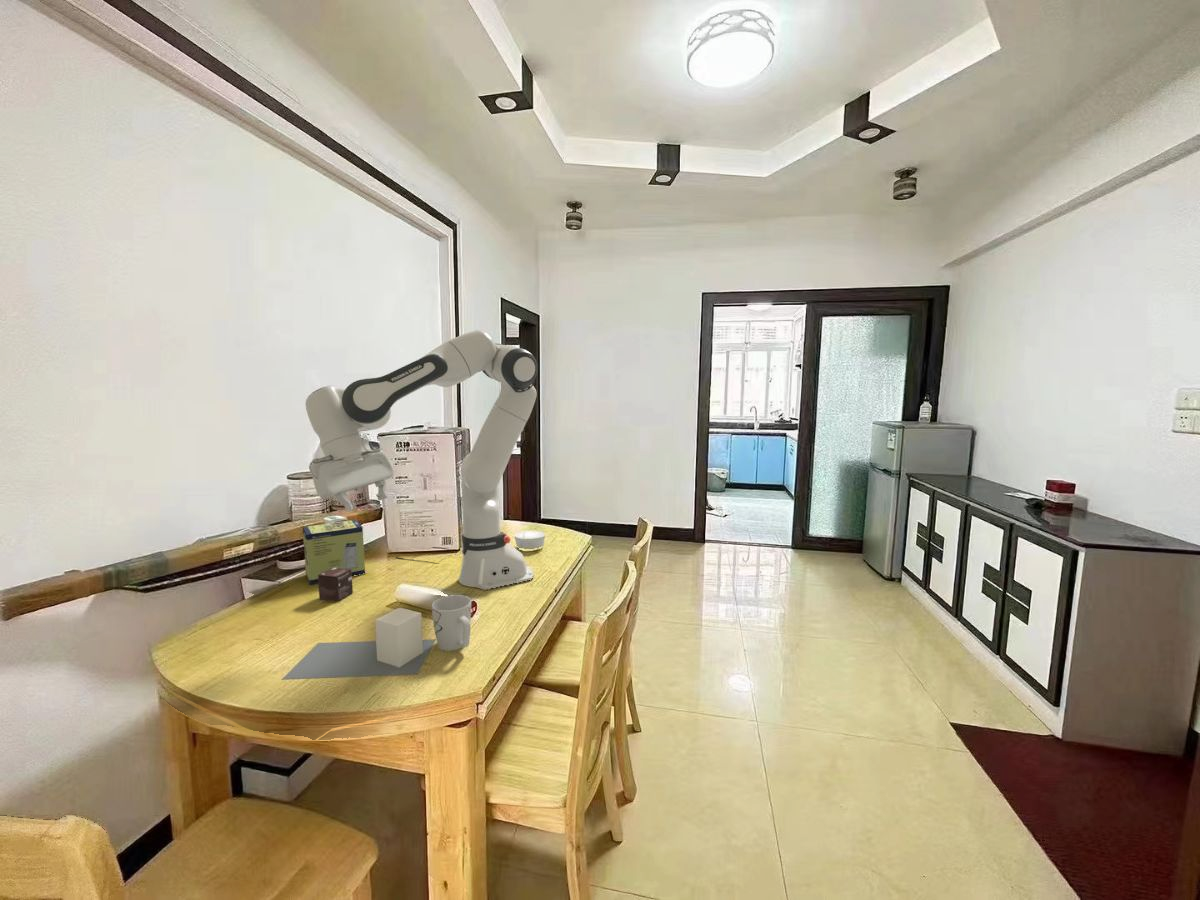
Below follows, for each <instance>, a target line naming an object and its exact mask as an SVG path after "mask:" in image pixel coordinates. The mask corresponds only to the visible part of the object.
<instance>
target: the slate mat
mask: <svg viewBox="0 0 1200 900" xmlns="http://www.w3.org/2000/svg"><path fill="white" fill-rule="evenodd" d="M436 641H437V639H436V638H435V639H434V638H431V639H428V638H427V639H422V643H423V653H421V654H420V655H418V656H417V657H415V658H414V659H412V660H410V661H409V662H407V663H406V664H404V665H403V666H401V667H396V666H393V665H390V664H387V663H384V662H381V661H378V660H377V647H376V640H374V641H373V640H371V641H368V640H367V641H365V640H364V641H340V642H339V641H337V642H333V641H332V642H317V643H316V644H315V646H313V647H312V648H311V649H310V650H309V652H307V653H306V654H305V655H304V656H303V657H302V658H301V660H299V661H298V662H297V664H295V665H294V666H293V668H291V669H290V670H289V671H288V672H287V674H285V675H284V676H283V677H282V679H281V680H283V681H284V680H304V679H305V680H306V679H333V678H334V679H335V678H337V679H338V678H357V677H358V678H359V677H362V678H363V677H383V676H384V677H386V676H387V677H388V676H389V677H390V676H411V675H412V676H414V675H419V673H420V671H421V668H422V667H423V665H424V663H425V662H426V659H427V657H428V656H429V654H430V652H431V650H432V647H433V646H434V644H435V643H436Z"/></svg>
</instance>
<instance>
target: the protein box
mask: <svg viewBox="0 0 1200 900" xmlns="http://www.w3.org/2000/svg"><path fill="white" fill-rule="evenodd" d="M363 528H364V527H363V526H362V525H361V524H360V523H359V521H358V520H357V519H351V520H347V521H343V522H336V523H329V524H323V523H322V524H317V525H309V526H308V525H307V526H302V537H303V548H304V549H303V551H304V552H303V553H304V561H305V574H306V579H307V581H308V583H309V586H312V585H317V584H319V581H318V575H319V574H321V573H323V572H325V571H327V570H330V569H332V568H345V569H351V573H352V576H353V577H355V576H354V575H358V576H360V575H359V574H363V573H365V574H366V568H365V567H366V562H365V544H364V532H363V531H364V529H363ZM363 575H364V574H363Z"/></svg>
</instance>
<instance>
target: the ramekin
mask: <svg viewBox="0 0 1200 900" xmlns="http://www.w3.org/2000/svg"><path fill="white" fill-rule="evenodd" d="M513 537H514V539H515V544H516V547H517V546H518V547H519V548H524V549H534V548H539V547H541V546H543V547H544V544H545V539H546V533H545V532H544V531H541V530H524V531H520V532H517V533H515V534H514V536H513Z"/></svg>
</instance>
